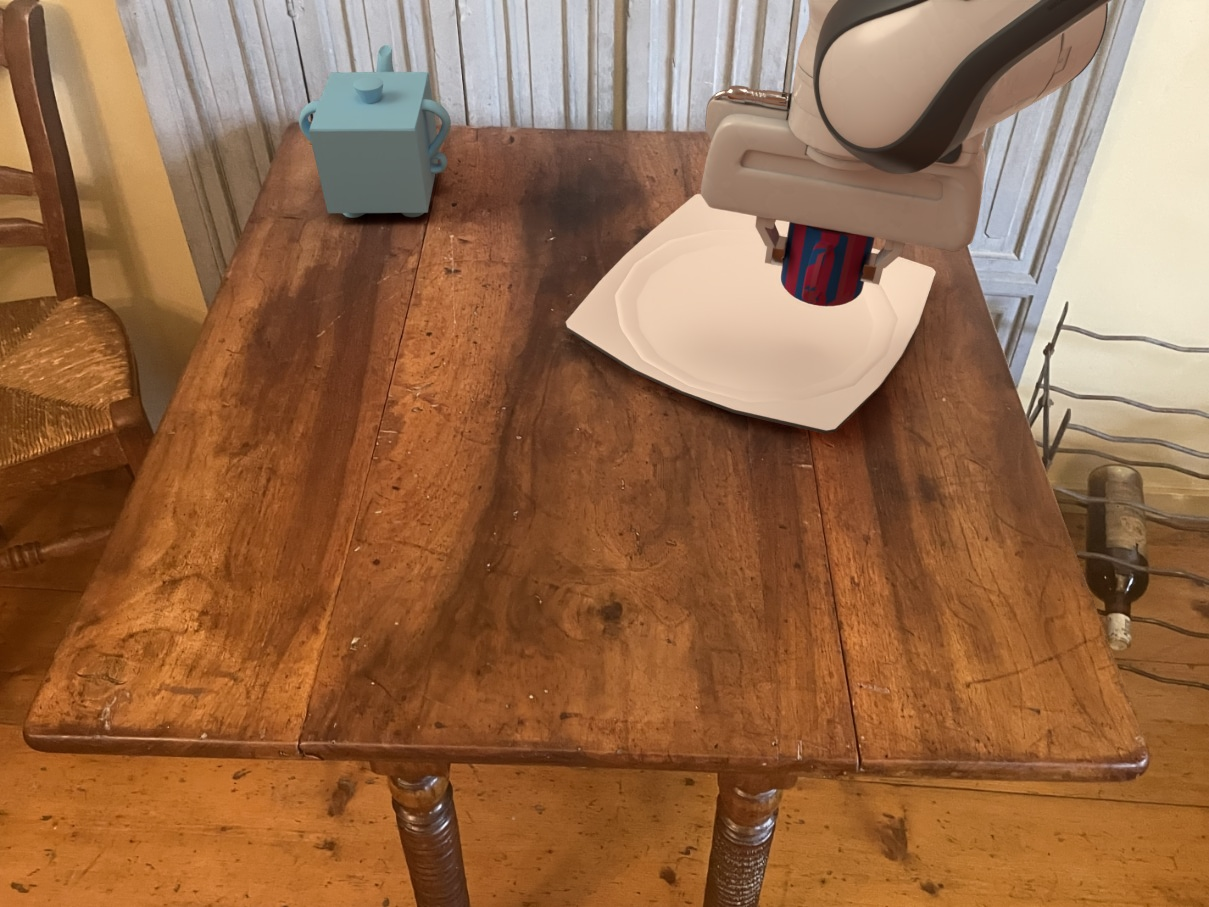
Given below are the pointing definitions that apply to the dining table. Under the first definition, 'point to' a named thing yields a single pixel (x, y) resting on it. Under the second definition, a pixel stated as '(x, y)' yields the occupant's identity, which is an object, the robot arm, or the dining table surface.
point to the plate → (747, 323)
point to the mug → (824, 265)
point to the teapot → (377, 140)
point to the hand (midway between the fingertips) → (823, 269)
